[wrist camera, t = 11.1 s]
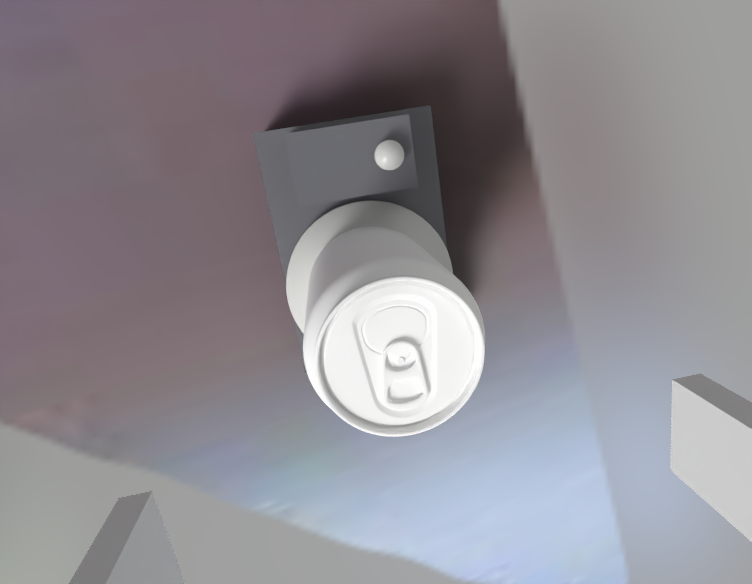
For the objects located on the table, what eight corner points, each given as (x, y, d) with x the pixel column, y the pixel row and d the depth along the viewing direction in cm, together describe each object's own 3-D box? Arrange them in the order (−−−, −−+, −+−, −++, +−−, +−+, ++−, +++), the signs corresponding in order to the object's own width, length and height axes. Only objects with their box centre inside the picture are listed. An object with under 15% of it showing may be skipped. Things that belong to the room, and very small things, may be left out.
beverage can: (424, 215, 30) (488, 248, 18) (437, 332, 32) (502, 427, 21) (297, 235, 29) (283, 283, 18) (320, 353, 32) (321, 463, 20)
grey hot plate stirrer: (260, 136, 32) (242, 129, 25) (417, 111, 33) (446, 97, 25) (306, 350, 37) (303, 398, 29) (444, 324, 37) (474, 364, 30)
